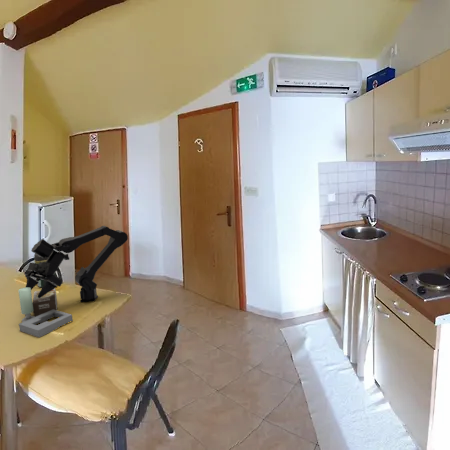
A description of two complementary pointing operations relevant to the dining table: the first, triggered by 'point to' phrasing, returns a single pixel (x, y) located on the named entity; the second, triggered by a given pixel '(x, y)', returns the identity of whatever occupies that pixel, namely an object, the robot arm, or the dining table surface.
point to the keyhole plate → (45, 323)
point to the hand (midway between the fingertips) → (31, 295)
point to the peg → (26, 303)
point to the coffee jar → (37, 261)
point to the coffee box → (44, 302)
